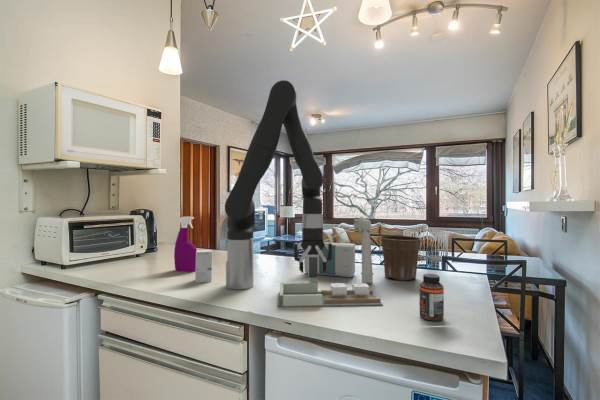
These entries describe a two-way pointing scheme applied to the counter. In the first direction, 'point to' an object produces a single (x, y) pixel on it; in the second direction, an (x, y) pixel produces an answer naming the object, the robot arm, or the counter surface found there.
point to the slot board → (340, 300)
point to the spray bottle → (184, 248)
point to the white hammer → (365, 248)
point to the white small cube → (360, 290)
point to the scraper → (312, 269)
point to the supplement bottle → (431, 298)
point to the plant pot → (400, 256)
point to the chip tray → (302, 298)
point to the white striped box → (336, 260)
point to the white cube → (338, 290)
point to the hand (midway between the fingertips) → (312, 272)
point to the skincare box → (203, 266)
